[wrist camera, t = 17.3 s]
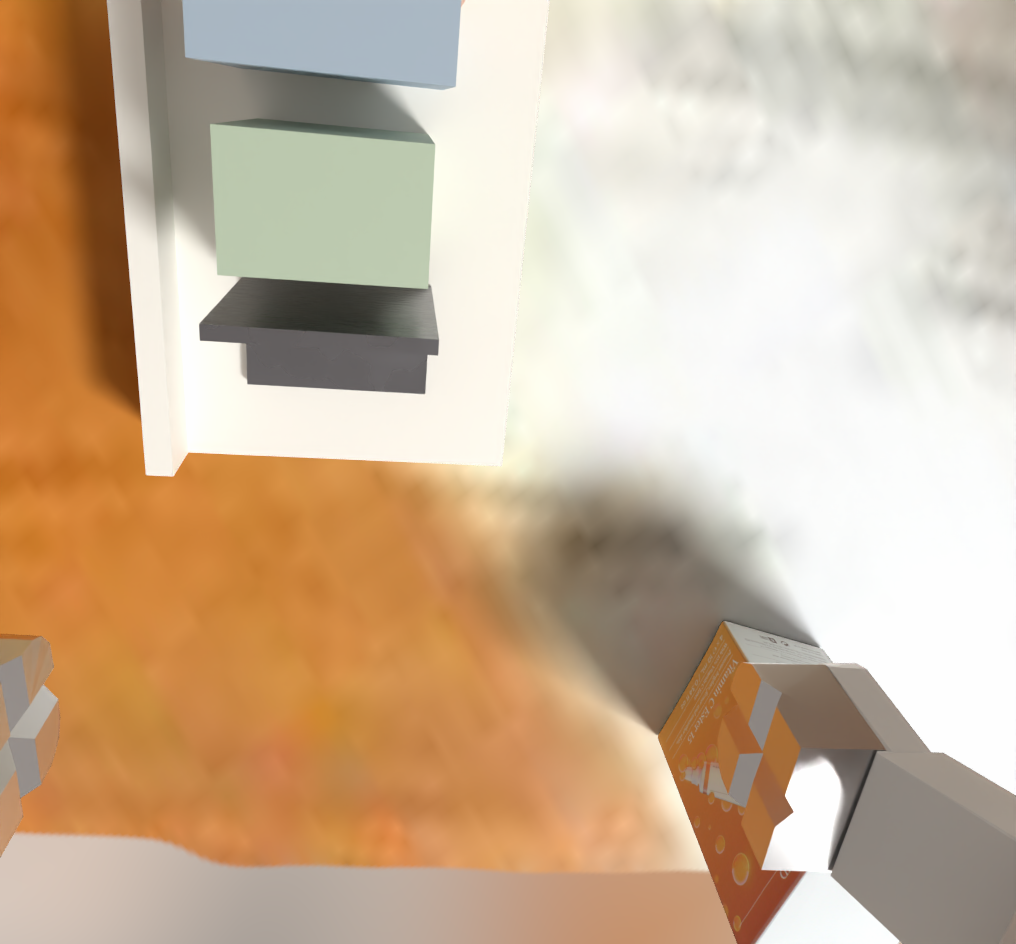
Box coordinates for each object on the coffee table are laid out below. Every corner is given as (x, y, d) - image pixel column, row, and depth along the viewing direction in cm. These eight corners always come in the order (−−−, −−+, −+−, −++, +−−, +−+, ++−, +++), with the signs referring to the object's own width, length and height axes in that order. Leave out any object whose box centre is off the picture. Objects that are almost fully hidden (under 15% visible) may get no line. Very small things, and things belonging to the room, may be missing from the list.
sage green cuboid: (427, 133, 30) (435, 144, 23) (422, 246, 32) (428, 288, 25) (257, 118, 29) (209, 124, 22) (260, 234, 31) (217, 275, 24)
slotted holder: (558, -140, 28) (628, -249, 19) (499, 455, 37) (529, 567, 28) (125, -205, 26) (-16, -360, 17) (170, 440, 35) (90, 555, 26)
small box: (720, 616, 42) (843, 817, 30) (824, 646, 44) (980, 849, 32) (652, 737, 45) (741, 965, 33) (752, 762, 46) (871, 987, 35)
